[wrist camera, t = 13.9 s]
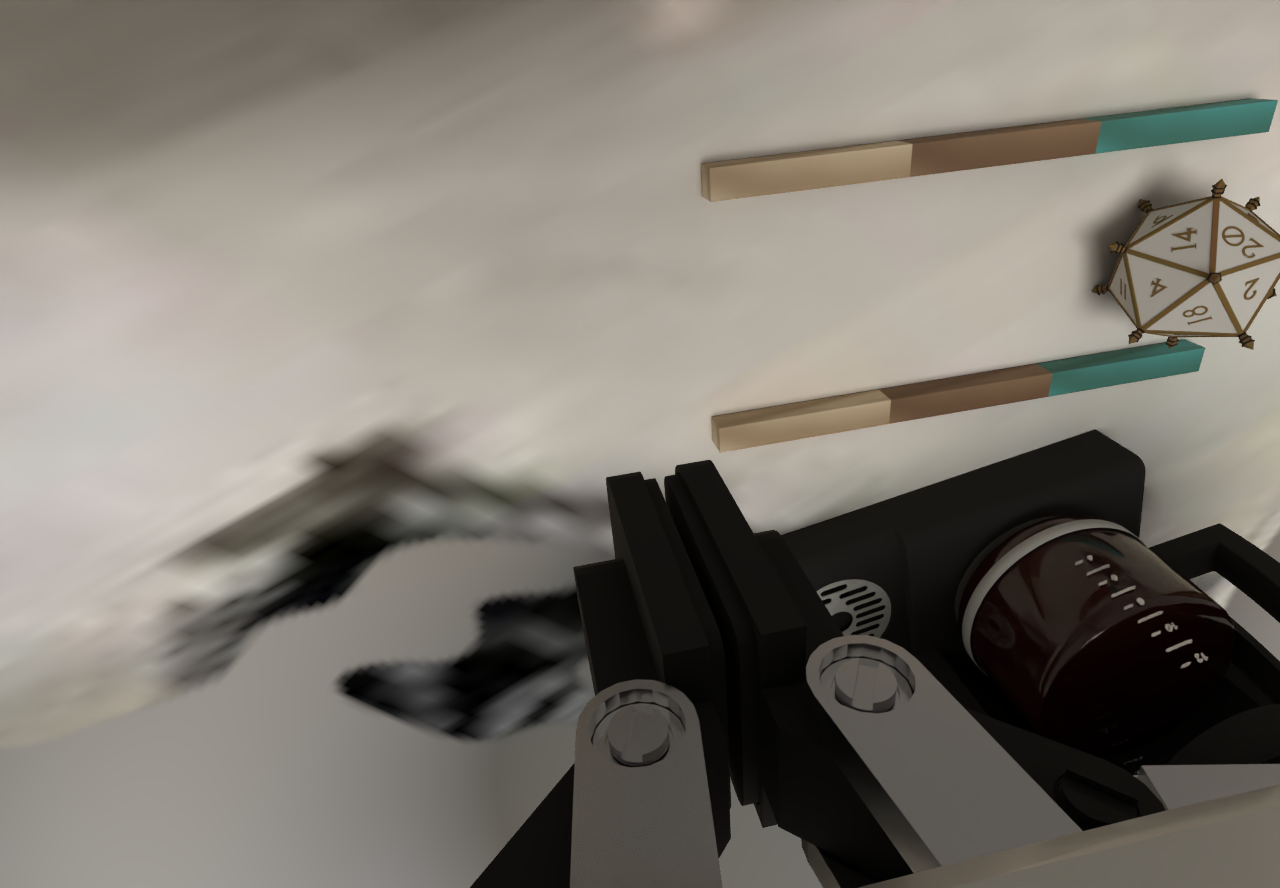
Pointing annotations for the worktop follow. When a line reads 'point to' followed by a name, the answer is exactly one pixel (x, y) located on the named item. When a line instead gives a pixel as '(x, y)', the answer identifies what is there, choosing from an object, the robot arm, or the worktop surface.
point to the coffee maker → (1062, 607)
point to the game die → (1196, 269)
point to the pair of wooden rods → (955, 156)
